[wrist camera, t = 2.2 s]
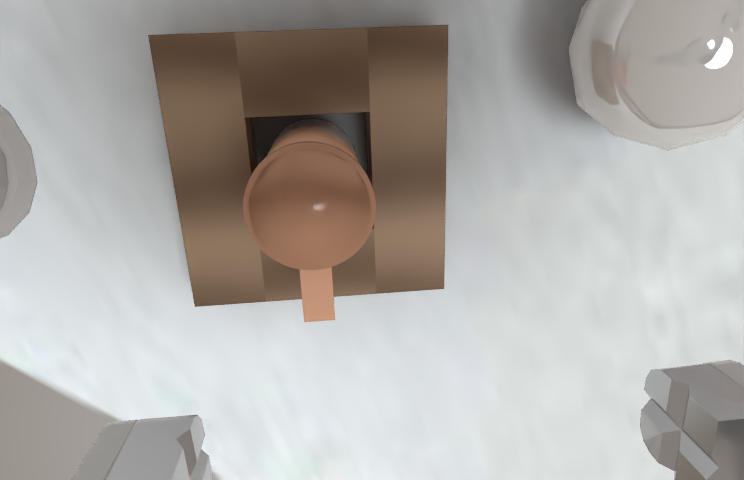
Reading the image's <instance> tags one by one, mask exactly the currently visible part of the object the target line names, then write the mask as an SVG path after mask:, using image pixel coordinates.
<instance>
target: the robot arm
mask: <svg viewBox="0 0 744 480" xmlns="http://www.w3.org/2000/svg"><path fill="white" fill-rule="evenodd" d="M644 390H645V391H646V393H647V394H648V395H649V397H650V398H651V399H650V400H649V401H648V403H647V404H646V405H645V406H644V407H643V409H642V410H641V419H640V428H641V432H642V436H643V441H644V443H645V445H646V446H647V448H648V450H649V452H650V453H651V455H652V456H653V457H654V458H655V459H656V461H657V462H658V463H660V464H662V465H664V466H666V467H667V468H669V469H671V470H673V471H674V480H744V366H743V365H742V364H741V363H739V362H735V361H732V360H725V361H717V362H709V363H703V364H700V365H691V366H682V367H673V368H664V369H655V370H650V372H649V374H648V375H647V377H646V382H645V388H644ZM204 437H205V432H204V428H203V423H202V419H201V418H200V417H199V416H198V415H189V416H177V417H164V418H151V419H140V420H128V421H119V422H110V423H108V424H107V425H105V426H104V427H103V428H102V429H101V431H100V433H99V434H98V436H97V438H96V439H95V441H94V443H93V445H92V446H91V448H90V449H89V451H88V453H87V454H86V456H85V458H84V459H83V461H82V463H81V464H80V466H79V468H78V469H77V471H76V473H75V474H74V476H73V478H72V479H71V480H212V475H211V465H210V459H209V455H207V454H206V453H205V452H204V451H203V450H202V449H201V447H202V443H203V440H204Z"/></svg>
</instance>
